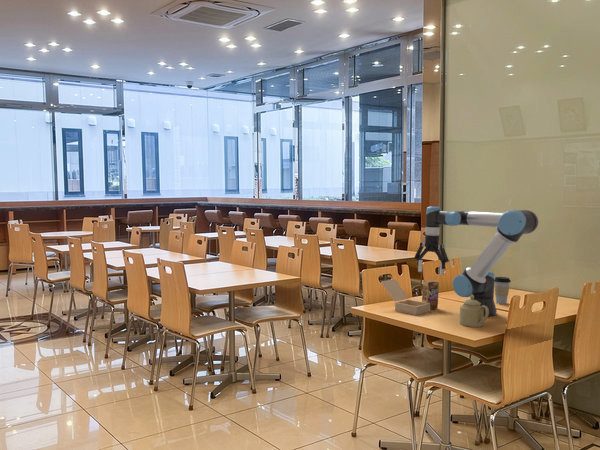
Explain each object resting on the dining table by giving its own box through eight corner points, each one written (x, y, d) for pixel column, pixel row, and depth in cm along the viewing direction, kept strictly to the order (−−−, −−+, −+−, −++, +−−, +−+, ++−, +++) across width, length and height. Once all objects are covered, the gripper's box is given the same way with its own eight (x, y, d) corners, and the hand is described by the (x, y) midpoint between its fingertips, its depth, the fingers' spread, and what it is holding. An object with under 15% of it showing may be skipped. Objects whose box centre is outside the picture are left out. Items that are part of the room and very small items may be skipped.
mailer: (429, 311, 305) (430, 303, 305) (416, 315, 296) (416, 306, 295) (408, 307, 314) (408, 299, 314) (394, 310, 305) (395, 302, 305)
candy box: (426, 310, 309) (427, 282, 308) (421, 308, 313) (422, 281, 312) (438, 308, 314) (439, 281, 313) (432, 307, 318) (433, 280, 317)
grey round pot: (493, 325, 276) (495, 294, 275) (487, 329, 267) (488, 298, 266) (463, 320, 285) (465, 291, 284) (456, 324, 276) (457, 294, 275)
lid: (395, 279, 320) (394, 279, 321) (381, 281, 311) (380, 281, 311) (408, 298, 314) (408, 298, 314) (394, 301, 305) (394, 301, 305)
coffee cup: (492, 303, 331) (493, 278, 330) (493, 301, 340) (494, 276, 339) (509, 305, 327) (510, 279, 326) (510, 302, 336) (511, 277, 335)
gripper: (456, 236, 305) (454, 275, 306) (416, 232, 322) (415, 269, 324) (449, 236, 300) (447, 276, 301) (409, 233, 317) (407, 270, 319)
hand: (430, 273), depth 312 cm, fingers open, 13 cm apart
